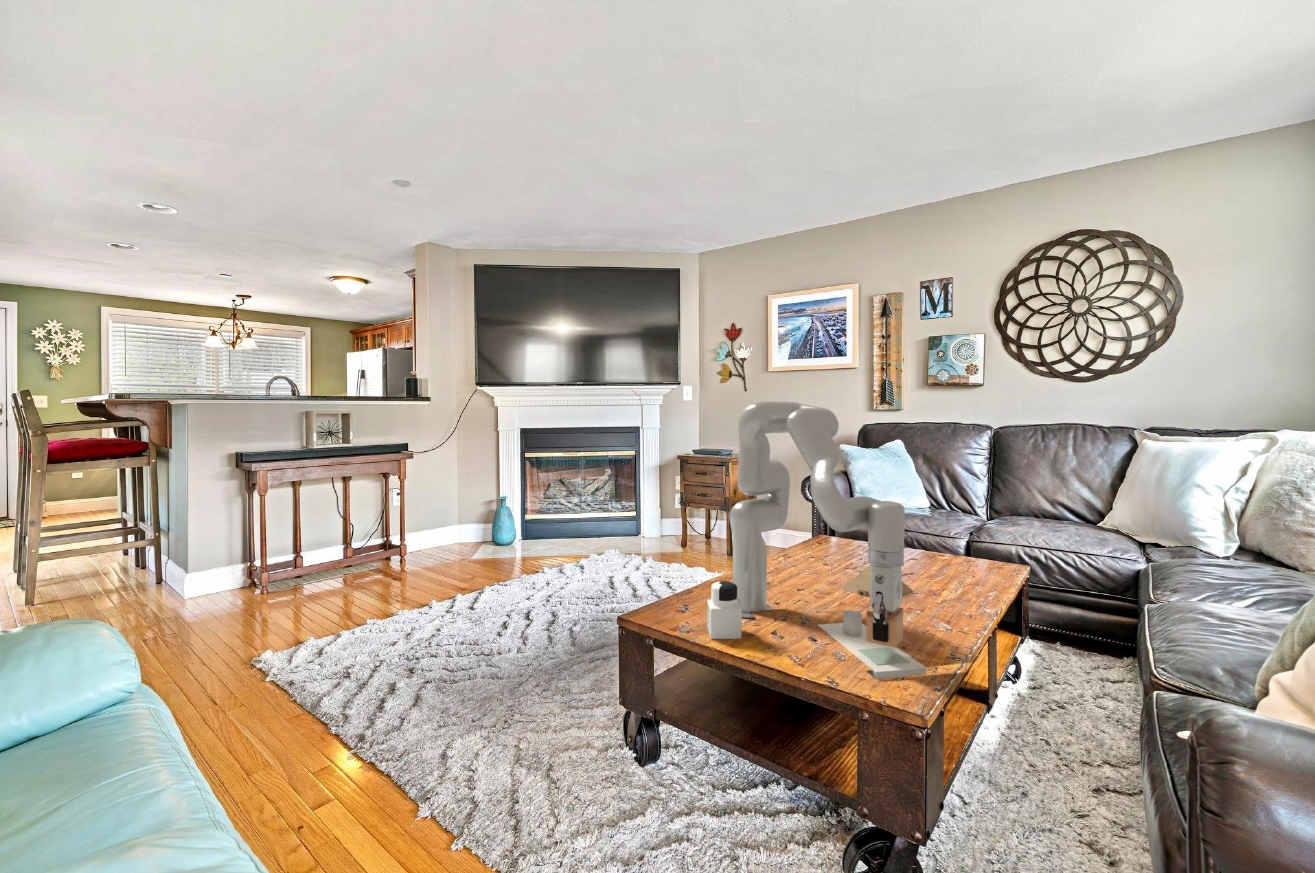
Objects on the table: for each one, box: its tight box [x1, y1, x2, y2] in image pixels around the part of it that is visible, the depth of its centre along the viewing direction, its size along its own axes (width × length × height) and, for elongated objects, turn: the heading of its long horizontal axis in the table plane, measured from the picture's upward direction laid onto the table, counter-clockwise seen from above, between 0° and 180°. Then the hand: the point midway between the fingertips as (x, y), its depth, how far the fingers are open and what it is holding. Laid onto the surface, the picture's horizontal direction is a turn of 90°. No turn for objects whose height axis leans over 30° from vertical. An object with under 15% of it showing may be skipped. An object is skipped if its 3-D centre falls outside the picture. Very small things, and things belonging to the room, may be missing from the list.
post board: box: [817, 609, 928, 680], centre depth 141 cm, size 12×28×6 cm, turn 10°
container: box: [706, 580, 743, 640], centre depth 151 cm, size 8×8×13 cm
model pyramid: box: [839, 564, 913, 598], centre depth 188 cm, size 17×17×10 cm
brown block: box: [865, 606, 904, 648], centre depth 134 cm, size 6×6×7 cm
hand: (884, 634), depth 134 cm, fingers closed on brown block, 6 cm apart
